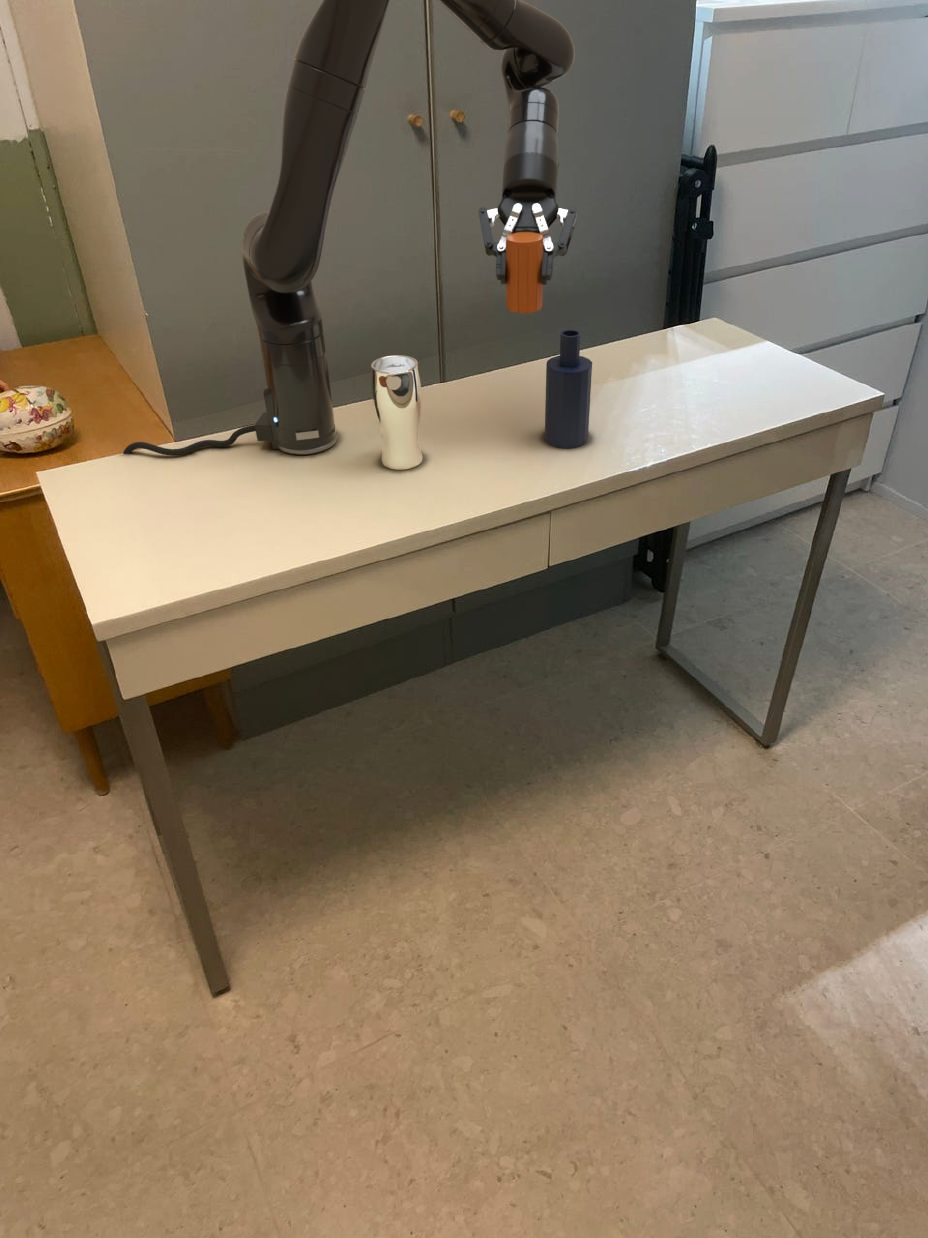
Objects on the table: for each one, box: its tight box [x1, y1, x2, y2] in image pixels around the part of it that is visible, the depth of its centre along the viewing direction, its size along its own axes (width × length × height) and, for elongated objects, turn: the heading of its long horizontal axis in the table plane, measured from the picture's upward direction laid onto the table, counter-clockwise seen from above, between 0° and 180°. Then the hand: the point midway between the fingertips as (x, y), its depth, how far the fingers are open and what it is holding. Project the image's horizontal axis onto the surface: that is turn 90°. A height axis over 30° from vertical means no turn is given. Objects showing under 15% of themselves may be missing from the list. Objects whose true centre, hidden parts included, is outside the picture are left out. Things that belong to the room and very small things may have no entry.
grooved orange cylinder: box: [505, 232, 544, 314], centre depth 129 cm, size 5×5×10 cm
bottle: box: [544, 329, 593, 449], centre depth 138 cm, size 7×7×16 cm
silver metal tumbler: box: [370, 354, 423, 471], centre depth 135 cm, size 7×7×15 cm
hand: (523, 281), depth 128 cm, fingers closed on grooved orange cylinder, 5 cm apart
